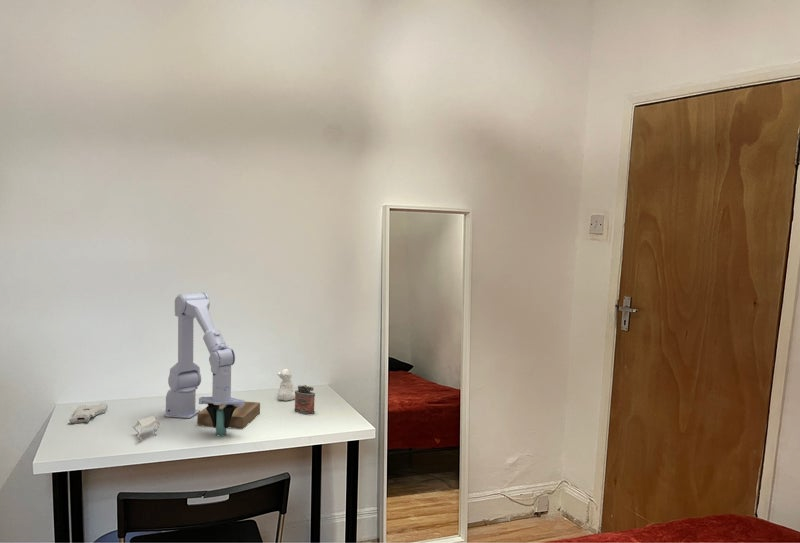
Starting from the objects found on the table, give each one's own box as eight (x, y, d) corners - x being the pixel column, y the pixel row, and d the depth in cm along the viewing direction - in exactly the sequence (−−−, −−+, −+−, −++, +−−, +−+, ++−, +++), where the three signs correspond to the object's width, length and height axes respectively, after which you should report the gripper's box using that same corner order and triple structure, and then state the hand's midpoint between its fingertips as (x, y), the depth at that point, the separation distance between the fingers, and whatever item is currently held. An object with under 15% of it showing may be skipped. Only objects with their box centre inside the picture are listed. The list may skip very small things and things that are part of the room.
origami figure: (133, 431, 194) (133, 416, 193) (161, 429, 196) (161, 414, 196) (127, 445, 182) (127, 429, 182) (157, 443, 185) (157, 427, 184)
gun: (101, 413, 199) (67, 415, 196) (101, 423, 199) (67, 426, 196) (108, 399, 216) (77, 401, 213) (108, 409, 216) (77, 411, 213)
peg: (214, 435, 192) (214, 411, 192) (218, 432, 196) (218, 408, 195) (223, 436, 192) (224, 412, 191) (227, 432, 195) (228, 409, 194)
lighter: (292, 412, 218) (293, 385, 217) (297, 409, 221) (298, 382, 220) (311, 415, 215) (312, 388, 214) (316, 412, 218) (317, 386, 217)
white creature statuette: (303, 397, 236) (303, 367, 235) (291, 403, 228) (292, 372, 226) (282, 394, 239) (283, 364, 238) (270, 400, 231) (271, 369, 230)
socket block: (197, 425, 201) (197, 413, 201) (217, 410, 217) (217, 399, 216) (243, 428, 199) (243, 417, 199) (259, 413, 215) (260, 402, 215)
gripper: (194, 387, 189) (194, 429, 190) (238, 391, 187) (237, 433, 189) (204, 381, 196) (204, 421, 197) (246, 384, 194) (246, 425, 196)
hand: (221, 426), depth 194 cm, fingers closed on peg, 3 cm apart
